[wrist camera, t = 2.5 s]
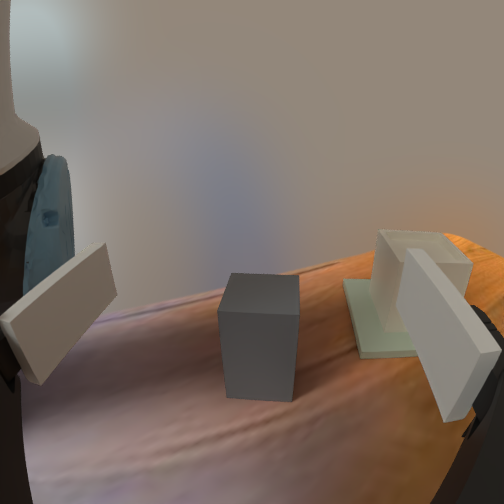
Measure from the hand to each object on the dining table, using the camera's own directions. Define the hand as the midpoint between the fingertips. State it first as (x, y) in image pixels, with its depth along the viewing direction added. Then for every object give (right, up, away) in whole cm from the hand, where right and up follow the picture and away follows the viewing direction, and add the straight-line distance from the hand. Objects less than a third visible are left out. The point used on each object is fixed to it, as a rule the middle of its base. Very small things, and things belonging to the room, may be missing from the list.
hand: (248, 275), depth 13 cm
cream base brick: (+21, -6, +24) cm, 32 cm away
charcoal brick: (+1, -11, +16) cm, 20 cm away
